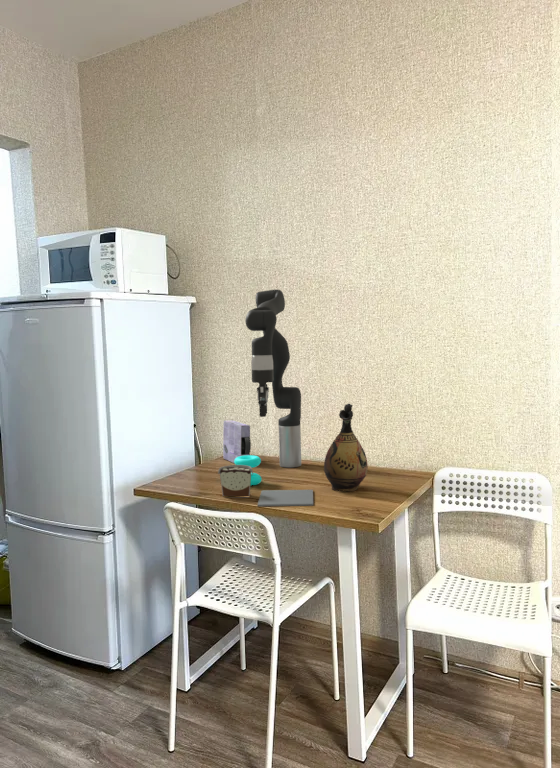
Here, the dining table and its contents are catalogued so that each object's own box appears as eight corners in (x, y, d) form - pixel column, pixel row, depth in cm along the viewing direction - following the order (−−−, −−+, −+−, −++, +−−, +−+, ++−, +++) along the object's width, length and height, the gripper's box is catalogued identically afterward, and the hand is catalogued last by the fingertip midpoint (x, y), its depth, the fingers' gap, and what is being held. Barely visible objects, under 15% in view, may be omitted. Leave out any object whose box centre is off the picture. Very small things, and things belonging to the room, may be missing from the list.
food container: (257, 492, 214) (256, 464, 213) (253, 497, 207) (252, 468, 207) (223, 492, 216) (222, 464, 215) (218, 496, 210) (217, 468, 209)
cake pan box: (252, 465, 260) (251, 424, 258) (241, 466, 257) (240, 425, 256) (232, 458, 276) (231, 419, 275) (222, 459, 274) (221, 420, 272)
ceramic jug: (367, 494, 207) (365, 407, 205) (322, 493, 210) (320, 407, 207) (369, 482, 224) (367, 401, 221) (327, 481, 227) (325, 402, 224)
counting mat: (261, 492, 214) (261, 490, 214) (312, 491, 213) (312, 489, 213) (257, 506, 196) (257, 504, 196) (313, 505, 195) (313, 503, 195)
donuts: (238, 454, 233) (263, 454, 230) (239, 480, 233) (264, 480, 231) (230, 459, 223) (257, 460, 221) (231, 486, 224) (258, 487, 222)
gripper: (272, 369, 202) (273, 417, 203) (273, 367, 216) (274, 412, 217) (250, 369, 202) (251, 418, 203) (252, 367, 216) (254, 413, 217)
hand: (263, 415), depth 210 cm, fingers open, 8 cm apart
